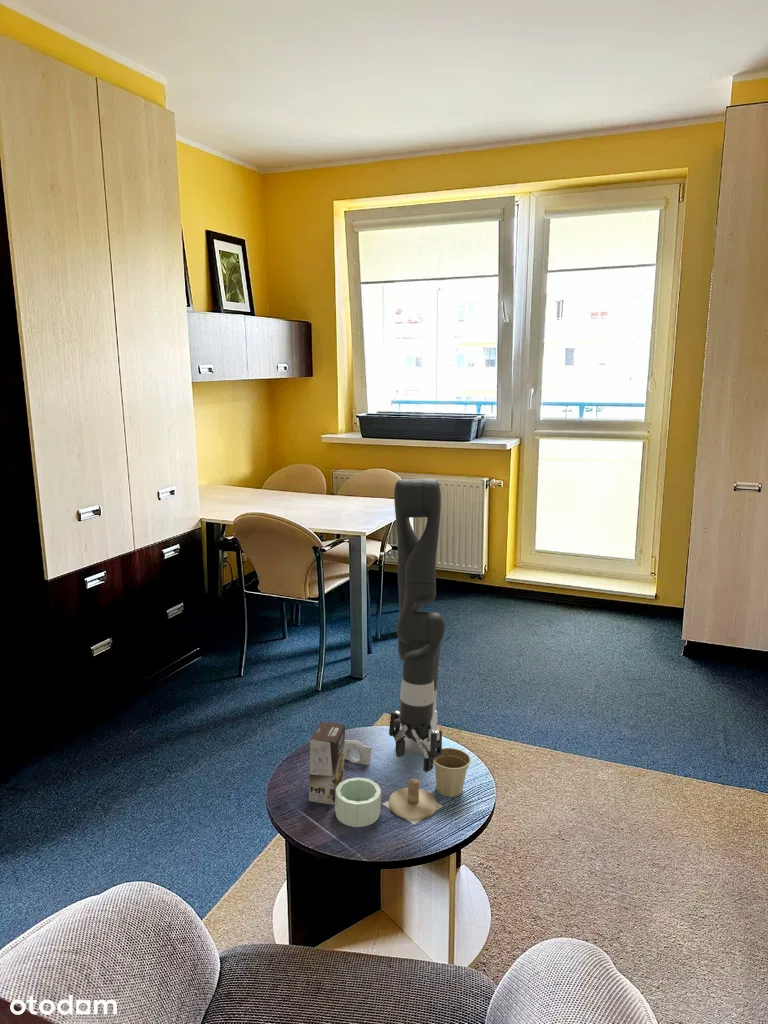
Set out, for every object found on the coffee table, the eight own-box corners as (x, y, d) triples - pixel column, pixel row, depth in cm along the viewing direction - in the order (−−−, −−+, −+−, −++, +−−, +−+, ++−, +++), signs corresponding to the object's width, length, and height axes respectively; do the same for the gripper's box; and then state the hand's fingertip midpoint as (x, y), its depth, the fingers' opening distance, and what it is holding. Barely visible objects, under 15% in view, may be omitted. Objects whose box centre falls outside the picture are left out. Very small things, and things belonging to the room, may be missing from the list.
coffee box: (334, 806, 161) (336, 742, 158) (308, 802, 162) (308, 739, 159) (344, 784, 170) (346, 723, 167) (319, 780, 171) (320, 720, 168)
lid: (411, 785, 170) (412, 763, 168) (446, 806, 162) (447, 782, 161) (379, 804, 162) (380, 780, 161) (414, 826, 154) (415, 802, 153)
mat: (411, 788, 169) (411, 787, 169) (443, 807, 162) (443, 805, 162) (382, 805, 162) (382, 804, 162) (413, 826, 155) (414, 824, 155)
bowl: (358, 795, 165) (359, 772, 164) (388, 815, 159) (389, 791, 157) (326, 813, 158) (327, 789, 157) (356, 834, 152) (357, 809, 150)
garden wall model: (328, 755, 183) (328, 734, 181) (332, 751, 184) (332, 731, 183) (368, 768, 177) (369, 746, 176) (372, 764, 179) (372, 743, 178)
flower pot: (442, 774, 175) (444, 743, 174) (475, 788, 170) (477, 756, 168) (422, 791, 168) (424, 759, 166) (456, 806, 163) (458, 773, 161)
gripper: (452, 703, 154) (447, 770, 157) (405, 682, 164) (402, 745, 167) (429, 713, 149) (425, 782, 152) (383, 691, 159) (380, 756, 162)
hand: (413, 763), depth 160 cm, fingers open, 8 cm apart
